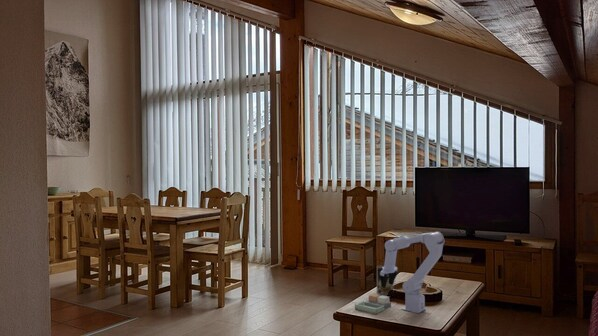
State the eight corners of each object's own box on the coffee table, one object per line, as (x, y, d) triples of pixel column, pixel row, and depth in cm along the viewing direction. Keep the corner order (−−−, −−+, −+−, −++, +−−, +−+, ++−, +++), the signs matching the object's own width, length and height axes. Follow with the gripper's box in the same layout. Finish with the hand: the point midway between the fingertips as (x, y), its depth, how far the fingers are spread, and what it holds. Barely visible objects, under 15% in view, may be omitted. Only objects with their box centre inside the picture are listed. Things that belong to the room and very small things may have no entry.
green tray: (384, 310, 260) (384, 305, 260) (376, 314, 255) (376, 309, 255) (363, 305, 269) (363, 300, 269) (355, 309, 263) (354, 304, 263)
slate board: (390, 306, 267) (390, 302, 267) (382, 310, 261) (382, 306, 261) (372, 302, 274) (372, 298, 274) (364, 305, 268) (364, 302, 268)
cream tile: (389, 302, 267) (389, 296, 267) (384, 304, 264) (384, 298, 264) (382, 300, 270) (382, 295, 270) (377, 302, 267) (377, 297, 266)
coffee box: (377, 296, 285) (376, 268, 285) (376, 292, 292) (376, 265, 291) (393, 296, 284) (393, 268, 284) (392, 293, 291) (392, 265, 290)
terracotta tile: (380, 300, 271) (380, 294, 271) (375, 302, 267) (375, 296, 267) (373, 298, 274) (373, 293, 273) (368, 300, 270) (368, 295, 270)
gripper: (390, 257, 277) (387, 280, 279) (376, 262, 266) (373, 286, 268) (402, 260, 273) (398, 284, 275) (388, 265, 262) (384, 290, 264)
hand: (387, 285), depth 271 cm, fingers open, 7 cm apart
